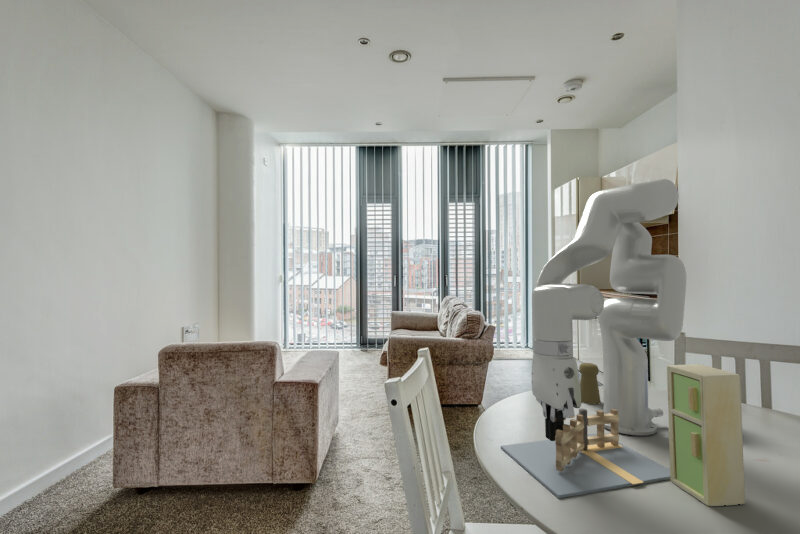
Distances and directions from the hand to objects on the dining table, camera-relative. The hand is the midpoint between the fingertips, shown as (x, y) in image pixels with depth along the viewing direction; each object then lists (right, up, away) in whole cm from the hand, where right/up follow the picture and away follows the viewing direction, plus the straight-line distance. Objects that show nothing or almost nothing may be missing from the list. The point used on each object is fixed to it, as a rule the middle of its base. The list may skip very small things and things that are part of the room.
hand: (554, 438), depth 76 cm
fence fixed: (+11, -5, +5) cm, 13 cm away
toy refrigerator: (+21, -4, -11) cm, 24 cm away
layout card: (+5, -4, 0) cm, 7 cm away
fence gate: (+3, -3, -2) cm, 4 cm away
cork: (+25, -5, +36) cm, 44 cm away
